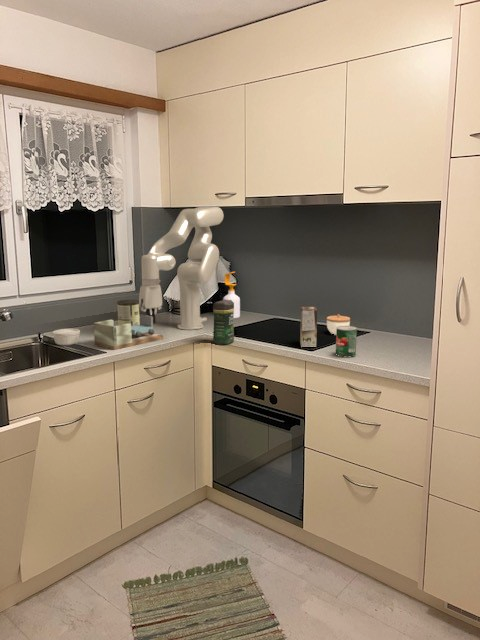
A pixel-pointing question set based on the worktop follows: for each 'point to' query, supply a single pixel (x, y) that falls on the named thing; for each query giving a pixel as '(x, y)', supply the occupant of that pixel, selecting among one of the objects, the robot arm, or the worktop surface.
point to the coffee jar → (223, 322)
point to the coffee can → (128, 312)
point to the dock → (119, 335)
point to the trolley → (143, 326)
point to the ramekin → (66, 336)
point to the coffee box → (308, 326)
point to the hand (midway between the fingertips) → (151, 323)
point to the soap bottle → (232, 296)
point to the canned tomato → (346, 340)
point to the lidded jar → (337, 322)
